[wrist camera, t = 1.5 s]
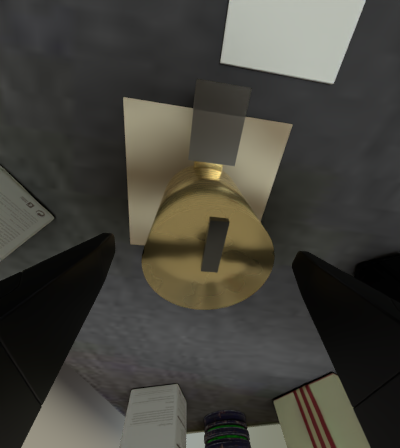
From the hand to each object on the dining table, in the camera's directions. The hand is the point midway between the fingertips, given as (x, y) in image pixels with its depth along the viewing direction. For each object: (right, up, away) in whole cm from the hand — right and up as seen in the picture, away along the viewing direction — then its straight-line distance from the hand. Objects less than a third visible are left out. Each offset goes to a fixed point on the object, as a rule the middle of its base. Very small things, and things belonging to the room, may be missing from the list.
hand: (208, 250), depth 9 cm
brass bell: (0, +3, +5) cm, 6 cm away
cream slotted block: (0, +4, +8) cm, 9 cm away
